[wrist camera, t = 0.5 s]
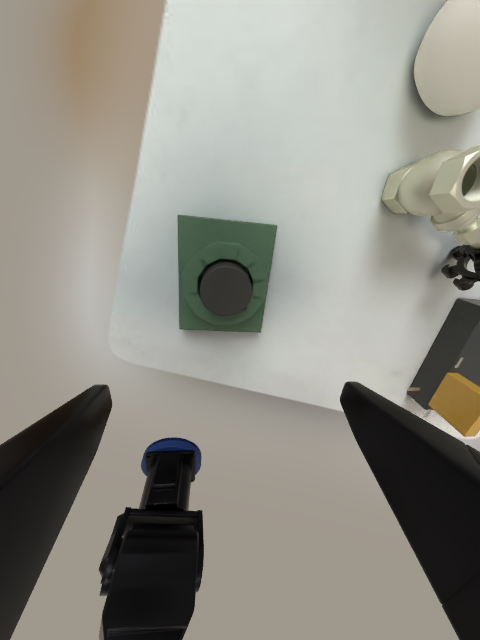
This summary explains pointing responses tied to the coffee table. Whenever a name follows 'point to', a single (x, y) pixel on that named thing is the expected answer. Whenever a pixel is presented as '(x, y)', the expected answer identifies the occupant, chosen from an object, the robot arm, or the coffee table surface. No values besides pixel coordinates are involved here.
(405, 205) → the valve
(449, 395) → the tap handle
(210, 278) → the button
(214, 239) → the button box
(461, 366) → the panel
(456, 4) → the figurine
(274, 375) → the coffee table surface
